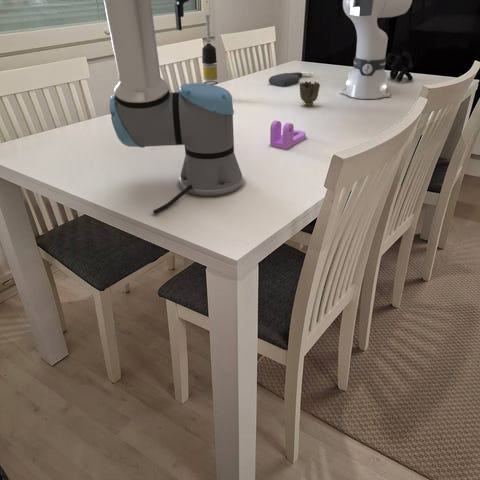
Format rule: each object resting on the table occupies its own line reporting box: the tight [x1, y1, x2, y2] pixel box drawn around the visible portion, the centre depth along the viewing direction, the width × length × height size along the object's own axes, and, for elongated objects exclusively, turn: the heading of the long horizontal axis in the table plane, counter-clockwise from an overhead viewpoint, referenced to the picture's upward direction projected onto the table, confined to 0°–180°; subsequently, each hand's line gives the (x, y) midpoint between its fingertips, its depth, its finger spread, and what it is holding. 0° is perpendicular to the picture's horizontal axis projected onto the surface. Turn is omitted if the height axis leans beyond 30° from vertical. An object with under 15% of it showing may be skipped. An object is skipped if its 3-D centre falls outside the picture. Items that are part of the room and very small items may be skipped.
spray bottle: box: [268, 70, 315, 87], centre depth 203 cm, size 3×11×24 cm
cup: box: [299, 81, 321, 107], centre depth 165 cm, size 8×7×8 cm
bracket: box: [269, 119, 306, 150], centre depth 133 cm, size 13×6×7 cm, turn 143°
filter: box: [201, 14, 219, 85], centre depth 171 cm, size 6×6×30 cm
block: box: [350, 0, 373, 16], centre depth 126 cm, size 4×4×5 cm
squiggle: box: [385, 51, 414, 83], centre depth 198 cm, size 11×10×15 cm
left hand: (156, 31), depth 127 cm, fingers open, 13 cm apart
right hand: (361, 6), depth 126 cm, fingers closed on block, 4 cm apart
